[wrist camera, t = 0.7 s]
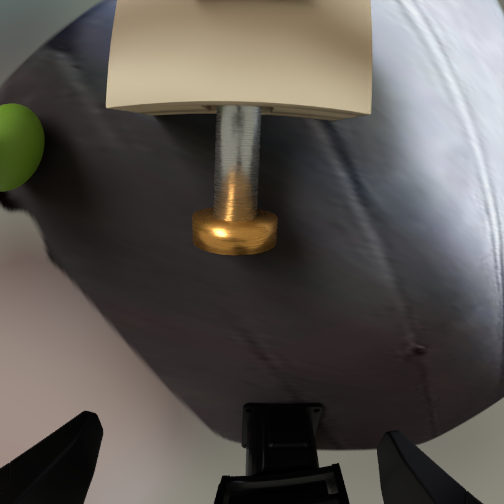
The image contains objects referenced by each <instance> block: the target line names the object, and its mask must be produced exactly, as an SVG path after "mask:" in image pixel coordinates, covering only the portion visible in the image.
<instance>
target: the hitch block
mask: <svg viewBox="0 0 504 504" xmlns="http://www.w3.org/2000/svg"><path fill="white" fill-rule="evenodd" d="M371 101H372V22H371V2H370V0H117V6H116V11H115V18H114V24H113V32H112V39H111V48H110V57H109V68H108V80H107V96H106V108H110V109H117V110H124V111H130V112H136V113H142V114H148V115H170V114H216V113H217V105H235V106H262V112H261V115H274V116H288V117H300V118H311V119H320V120H329V121H336V120H341V119H346V118H352V117H358V116H364V115H370V114H371Z"/></svg>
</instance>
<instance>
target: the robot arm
mask: <svg viewBox="0 0 504 504" xmlns="http://www.w3.org/2000/svg"><path fill="white" fill-rule="evenodd" d="M322 411H323V408H322V405H321V404H319V403H311V404H257V403H247V404H245V405H244V406H243V425H242V447H243V448H246V476H231V477H230V476H222V479H221V482H220V484H219V486H218V490H217V493H216V498H215V501H214V504H349V499H348V495H347V492H346V488H345V484H344V480H343V477H342V473H341V469H340V466H339V463H337V464H332V466H327V467H321V468H319V463H318V456H317V450H316V443H315V437H314V436H315V433H316V430H317V427H318V424H319V420H320V417H321V414H322ZM102 437H103V428H102V425H101V423H100V420H99V418H98V415H97V414H96V413H93V412H89V411H83V412H82V413H80V414H79V415H77V416H76V417H74V418H73V419H72V420H70V421H69V422H68V423H66V424H65V425H63V426H62V427H60V428H59V429H57V430H56V431H55V432H53V433H52V434H50V435H49V436H47V437H46V438H44V439H43V440H42V441H40V442H39V443H37V444H36V445H34V446H33V447H32V448H30V449H29V450H27V451H26V452H24V453H23V454H21V455H20V456H18V457H17V458H15V459H14V460H12V461H11V462H10V463H8V464H6V465H5V466H3V467H2V468H0V504H84V501H85V498H86V495H87V492H88V489H89V486H90V483H91V480H92V478H93V474H94V471H95V467H96V463H97V458H98V454H99V450H100V445H101V441H102ZM377 455H378V464H379V474H380V484H381V491H382V496H383V501H384V504H483V503H482V502H480V501H479V500H478V499H477V498H475V497H474V496H473V495H472V494H471V493H469V492H468V491H466V489H465V488H463V487H462V486H461V485H460V484H459V483H457V482H456V481H455V480H454V479H453V478H452V477H451V476H449V475H448V474H447V473H446V472H445V471H444V470H443V469H441V468H440V467H439V466H438V465H437V464H436V463H435V462H434V461H432V460H431V459H430V458H429V457H428V456H427V455H426V454H424V453H423V452H422V451H421V450H420V449H419V448H418V447H417V446H416V445H415V444H413V443H412V442H411V441H410V440H409V439H408V438H407V437H406V436H405V435H403V434H402V433H401V432H400V431H398V430H394V431H388V432H386V433H385V434H384V436H383V438H382V440H381V441H380V443H379V445H378V448H377ZM331 493H332V494H331Z"/></svg>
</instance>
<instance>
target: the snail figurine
mask: <svg viewBox="0 0 504 504" xmlns="http://www.w3.org/2000/svg"><path fill="white" fill-rule="evenodd" d="M44 144H45V138H44V131H43V127H42V124H41V122H40V120H39V119H38V117H37V116H36V115H35V113H34V112H33V111H31V110H30V109H29V108H27V107H25V106H23V105H19V104H4V105H1V106H0V191H8V190H12V189H15V188H17V187H19V186H20V185H22V184H23V183H25V182H26V181H27V180H28V179H29V178H30V177H31V176H32V175H33V174H34V172H35V171H36V169H37V167H38V166H39V164H40V161H41V159H42V156H43V152H44Z"/></svg>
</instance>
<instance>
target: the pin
mask: <svg viewBox="0 0 504 504" xmlns="http://www.w3.org/2000/svg"><path fill="white" fill-rule="evenodd" d="M261 112H262V106H235V105H217V113H216V140H215V176H214V208H207V209H203V210H200V211H197V212H196V213H194V214H193V243H194V245H195V246H197V247H198V248H200V249H202V250H205V251H208V252H212V253H216V254H223V255H251V254H257V253H262V252H265V251H268V250H270V249H272V248H273V247H274V246H275V245H276V237H277V223H278V217H277V216H276V215H275V214H273V213H271V212H269V211H265V210H261V209H257V196H258V175H259V154H260V133H261Z"/></svg>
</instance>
